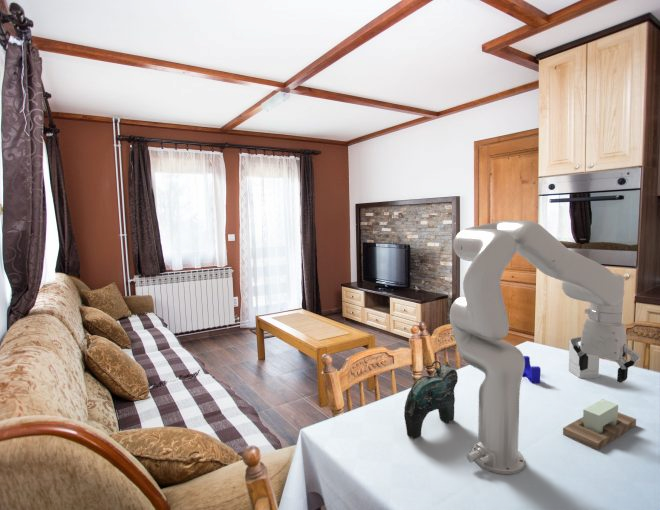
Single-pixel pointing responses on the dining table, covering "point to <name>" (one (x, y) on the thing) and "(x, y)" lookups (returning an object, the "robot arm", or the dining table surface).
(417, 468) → the dining table surface
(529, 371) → the cable clip
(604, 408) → the tall sage green block
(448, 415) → the green ceramic figurine
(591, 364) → the supplement box
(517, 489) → the dining table surface
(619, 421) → the brown wooden board
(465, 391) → the dining table surface
